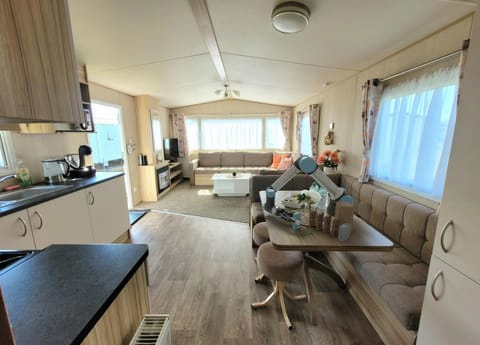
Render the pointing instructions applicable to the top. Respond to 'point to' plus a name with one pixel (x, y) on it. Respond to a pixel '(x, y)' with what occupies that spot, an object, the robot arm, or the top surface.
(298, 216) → the domino
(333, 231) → the domino
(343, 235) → the end stop
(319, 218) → the domino
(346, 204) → the block
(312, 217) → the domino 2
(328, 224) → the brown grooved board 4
